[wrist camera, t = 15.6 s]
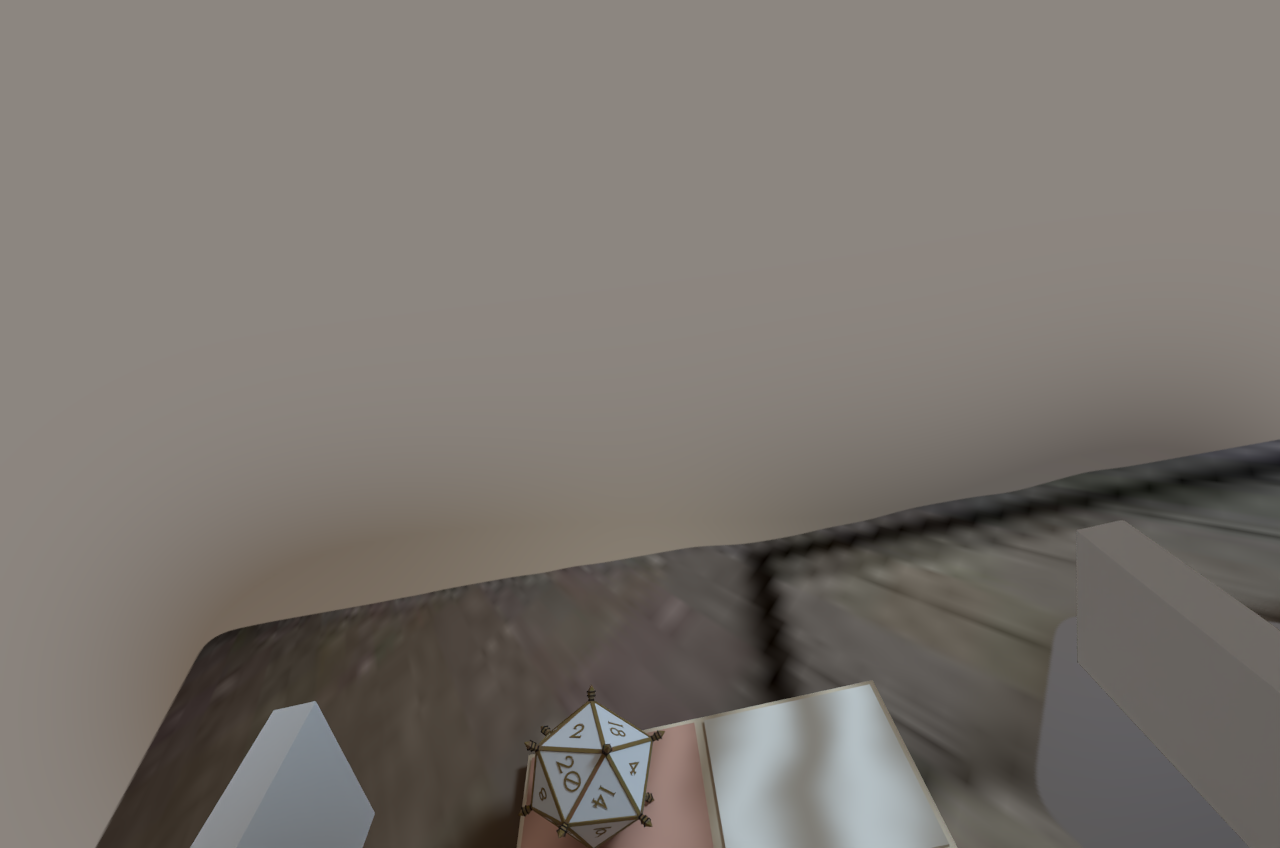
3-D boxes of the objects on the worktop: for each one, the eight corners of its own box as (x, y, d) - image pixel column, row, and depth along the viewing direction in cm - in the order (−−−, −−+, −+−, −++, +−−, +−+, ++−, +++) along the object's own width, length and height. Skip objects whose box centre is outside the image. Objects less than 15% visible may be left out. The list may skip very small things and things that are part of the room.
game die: (651, 866, 43) (697, 829, 36) (514, 884, 41) (534, 849, 34) (632, 719, 49) (668, 663, 42) (510, 728, 47) (527, 670, 40)
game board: (873, 691, 49) (872, 678, 48) (961, 866, 37) (960, 851, 36) (532, 765, 50) (528, 753, 49) (508, 959, 38) (502, 945, 37)
